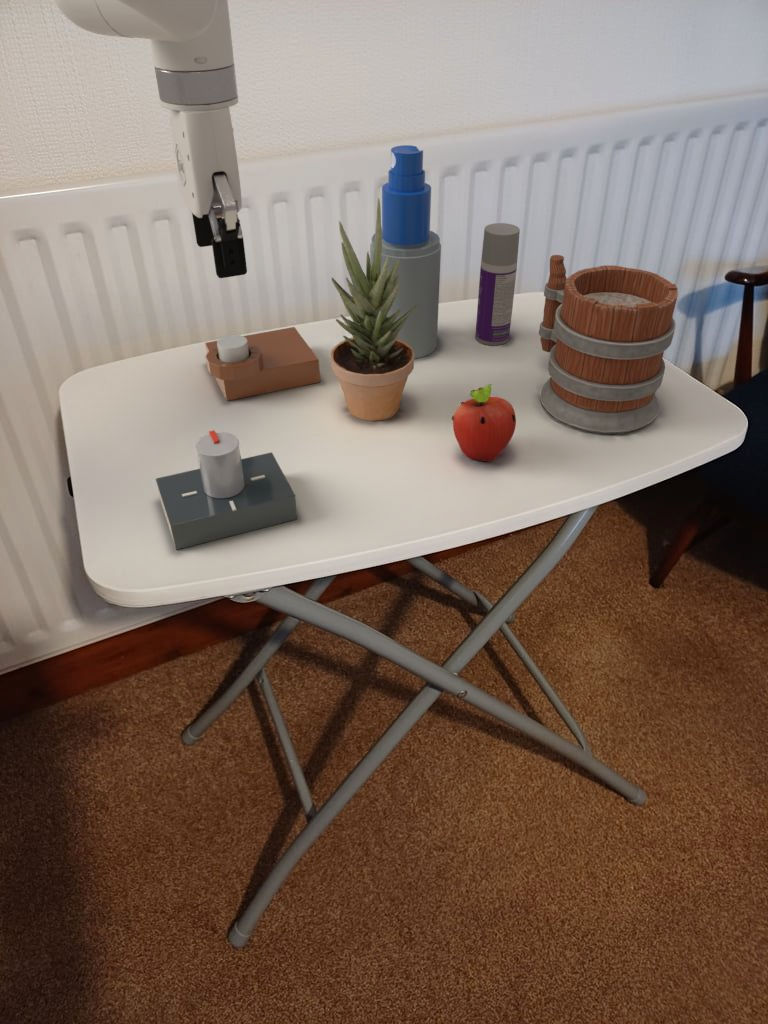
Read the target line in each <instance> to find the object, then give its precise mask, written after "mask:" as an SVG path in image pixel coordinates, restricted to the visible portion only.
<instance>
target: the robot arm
mask: <svg viewBox="0 0 768 1024" xmlns="http://www.w3.org/2000/svg"><path fill="white" fill-rule="evenodd" d="M54 2H55V4H56V6H57V7H58V8H59V10H60V11H61V13H62V14H63V15H64V16H65V17H66V18H67V19H68V20H69V21H70V22H71V23H73V25H75V26H78V27H79V28H80V29H83V30H85V31H86V32H89V33H92V34H97V35H101V36H108V37H117V38H128V39H129V38H131V39H133V38H137V39H145V40H149V42H150V49H151V54H152V59H153V60H152V61H153V65H154V71H155V72H154V73H155V77H156V85H157V89H158V96H159V104H160V106H161V107H162V108H164V109H166V110H169V117H170V118H169V120H170V129H171V137H172V144H173V146H172V147H173V153H174V161H175V169H176V178H177V182H178V183H177V185H178V190H179V191H178V192H179V195H180V197H181V199H182V200H183V201H184V203H185V205H186V206H187V208H188V209H189V210H190V212H191V215H192V222H193V228H194V234H195V241H196V244H197V246H198V247H199V248H204V247H212V253H213V261H214V268H215V275H216V276H217V278H219V279H227V278H231V277H237V276H244V275H247V274H248V273H247V272H248V268H247V258H246V251H245V249H246V248H245V242H244V236H243V230H242V226H241V220H240V219H239V214H238V213H239V212H240V211H241V210H242V208H243V207H242V206H243V205H242V204H243V202H242V187H241V179H240V178H241V177H240V171H239V164H238V155H237V150H236V149H237V147H236V141H235V136H234V127H233V123H232V116H231V110H230V107H234V106H235V105H237V104H238V103H239V94H238V85H237V84H238V83H237V75H236V66H235V58H234V50H233V40H232V39H233V38H232V30H231V20H230V19H231V18H230V11H229V1H228V0H54Z"/></svg>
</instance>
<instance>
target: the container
mask: <svg viewBox="0 0 768 1024" xmlns="http://www.w3.org/2000/svg"><path fill="white" fill-rule="evenodd" d="M520 230H521V229H520V227H518V226H517V225H515V224H512V223H505V222H495V223H490V224H487V225H485V227H484V230H483V240H482V251H481V258H480V259H481V260H480V270H479V281H478V294H477V295H478V296H477V310H476V324H475V336H474V337H475V340H476V341H477V342H479V343H481V344H482V345H487V346H500V345H501V346H502V345H505V344H506V343H508V342H509V340H510V335H511V326H512V317H513V309H514V308H513V306H514V297H515V288H516V279H517V270H518V258H519V257H518V256H519V247H520V246H519V245H520V234H521V233H520V232H521V231H520Z"/></svg>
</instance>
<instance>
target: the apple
mask: <svg viewBox="0 0 768 1024" xmlns="http://www.w3.org/2000/svg"><path fill="white" fill-rule="evenodd" d="M491 393H492V384H488V385H485V386H484V387H478V389H472V390H471V391H470V393H468V395H469V396H470V397H471V398H470V399H467V400H465V401H462V402H460V404H459V406H458V407H457V408H456V409H455V412H454V414H453V415H452V417H451V420H452V428H453V434H454V438H455V439H456V441H457V443H458V446H459V448H460V450H461V452H462V453H463V454H464V455H465V456H466V457H467V458H468V459H470V460H475V461H482V462H487V463H489V462H493V461H494V460H496V459H497V458H498V456H500V454H501V453H502V452H503V451H504V449H505V448H506V447H507V446H508V445H509V443H510V442H511V440H512V438H513V436H514V433H515V430H516V426H517V416H516V412H515V409H514V407H513V405H512V404H511V403H510V401H508V400H507V399H504V398H502V397H499V396H492V395H491Z"/></svg>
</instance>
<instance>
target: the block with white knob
mask: <svg viewBox="0 0 768 1024" xmlns="http://www.w3.org/2000/svg"><path fill="white" fill-rule="evenodd" d="M243 336H244V337H245V338H246V339H247V341H248V349H249V358H247V359H245V360H243V361H240V362H234V363H233V362H223V361H221V360H220V359H219V354H218V347H217V341H218V340H212V341H209V342H205V343H204V345H205V351H206V355H205V361H206V367H207V372H209V375H210V376H211V377H214V378H215V381H216V382H217V385H218V386H219V388H220V391H221V392H222V394H223V397H224V399H225V400H226V401H227V402H229V401H234V400H239V399H243V398H244V399H245V398H248V397H253V396H258V395H263V394H269V393H273V392H278V391H282V390H288V389H292V388H299V387H303V386H307V385H312V384H317V383H320V382H321V377H320V376H321V374H320V373H321V372H320V360H319V358H318V356H317V355H316V354H315V353H314V351H313V350H312V349H311V347H310V345H308V343H307V342H306V340H305V339H304V338H303V337H302V335H301V334H300V332H299V331H298V330H297V328H296V327H295V326H292V327H291V326H290V327H286V328H285V327H284V328H280V329H274V330H270V331H263V332H259V333H258V332H257V333H252V334H248V335H243Z"/></svg>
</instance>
